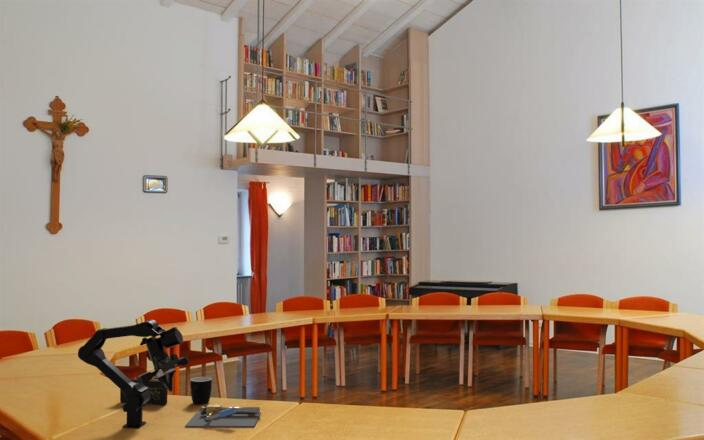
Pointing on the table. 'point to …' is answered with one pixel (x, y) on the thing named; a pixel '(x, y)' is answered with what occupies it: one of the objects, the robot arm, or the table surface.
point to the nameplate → (151, 392)
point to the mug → (201, 390)
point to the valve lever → (221, 414)
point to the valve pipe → (216, 408)
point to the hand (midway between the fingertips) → (171, 391)
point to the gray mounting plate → (224, 421)
